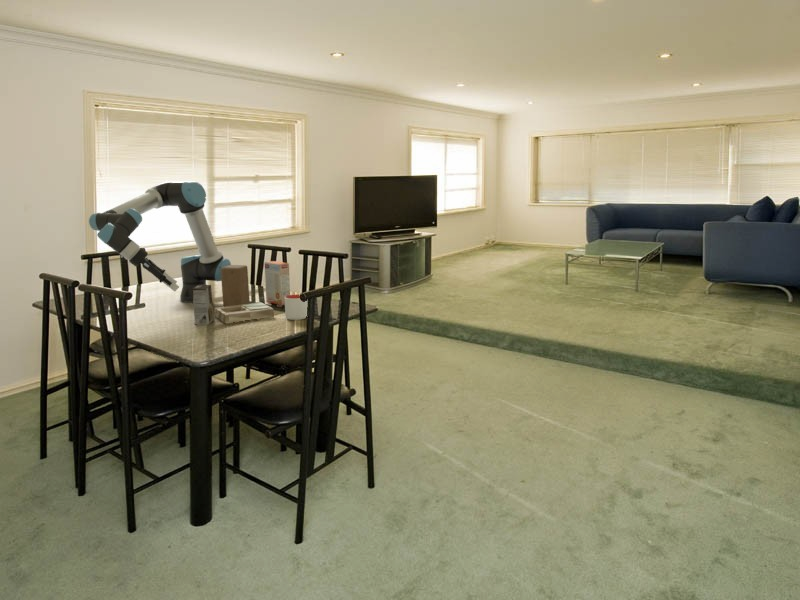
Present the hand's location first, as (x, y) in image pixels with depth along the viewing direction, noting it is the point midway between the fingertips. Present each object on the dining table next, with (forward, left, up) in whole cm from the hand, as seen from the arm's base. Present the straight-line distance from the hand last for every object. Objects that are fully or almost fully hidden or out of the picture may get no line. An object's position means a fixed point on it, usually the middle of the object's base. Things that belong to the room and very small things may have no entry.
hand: (176, 286), depth 251 cm
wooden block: (-24, +32, -17) cm, 44 cm away
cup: (+17, +47, -17) cm, 53 cm away
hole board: (+1, +28, -17) cm, 33 cm away
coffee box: (+1, +10, -17) cm, 20 cm away
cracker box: (-19, +52, -17) cm, 58 cm away
